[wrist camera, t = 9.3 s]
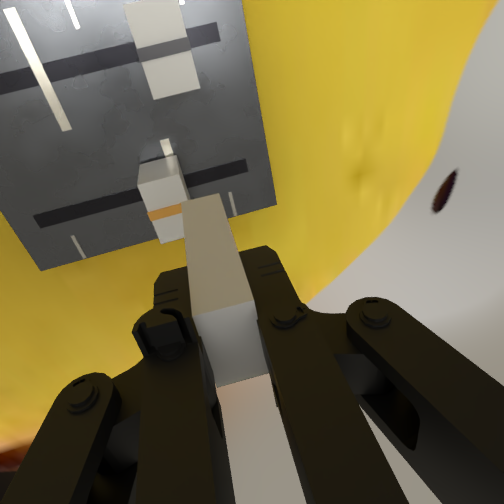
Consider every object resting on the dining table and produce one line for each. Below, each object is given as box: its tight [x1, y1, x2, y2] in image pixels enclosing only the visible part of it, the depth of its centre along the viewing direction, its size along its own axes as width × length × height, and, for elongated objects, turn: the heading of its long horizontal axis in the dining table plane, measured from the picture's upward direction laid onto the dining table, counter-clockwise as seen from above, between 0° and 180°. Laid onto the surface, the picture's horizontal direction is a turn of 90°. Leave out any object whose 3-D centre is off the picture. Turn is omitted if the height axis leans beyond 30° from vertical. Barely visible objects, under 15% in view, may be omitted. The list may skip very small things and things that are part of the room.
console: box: [0, 0, 277, 271], centre depth 29 cm, size 22×19×2 cm
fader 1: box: [123, 0, 200, 100], centre depth 23 cm, size 3×5×5 cm, turn 11°
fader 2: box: [137, 155, 191, 244], centre depth 29 cm, size 3×5×5 cm, turn 11°
